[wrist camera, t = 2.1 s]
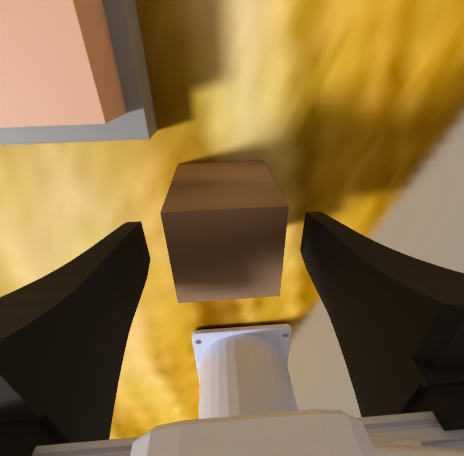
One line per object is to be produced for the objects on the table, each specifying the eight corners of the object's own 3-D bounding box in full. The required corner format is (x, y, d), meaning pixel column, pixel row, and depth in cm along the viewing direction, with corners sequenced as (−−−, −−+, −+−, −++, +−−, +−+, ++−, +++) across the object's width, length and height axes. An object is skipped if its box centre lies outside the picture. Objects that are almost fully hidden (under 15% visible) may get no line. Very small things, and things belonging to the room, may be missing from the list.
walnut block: (260, 230, 16) (279, 296, 11) (188, 234, 16) (178, 303, 11) (262, 159, 14) (288, 205, 9) (178, 163, 14) (160, 212, 9)
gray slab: (159, 128, 13) (149, 139, 11) (-3, 134, 13) (-45, 146, 11) (119, -115, 9) (90, -173, 7) (-122, -114, 9) (-231, -175, 7)
